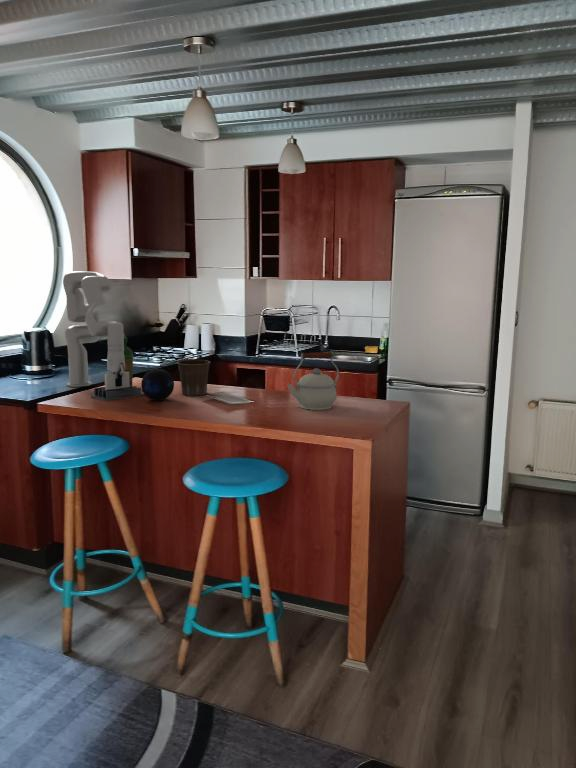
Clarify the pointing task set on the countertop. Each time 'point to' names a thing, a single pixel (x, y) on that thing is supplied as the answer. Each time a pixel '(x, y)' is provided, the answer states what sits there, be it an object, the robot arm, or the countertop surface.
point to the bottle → (128, 360)
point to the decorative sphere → (157, 384)
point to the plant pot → (193, 376)
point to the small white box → (111, 381)
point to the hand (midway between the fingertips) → (117, 385)
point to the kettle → (315, 386)
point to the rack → (116, 393)
